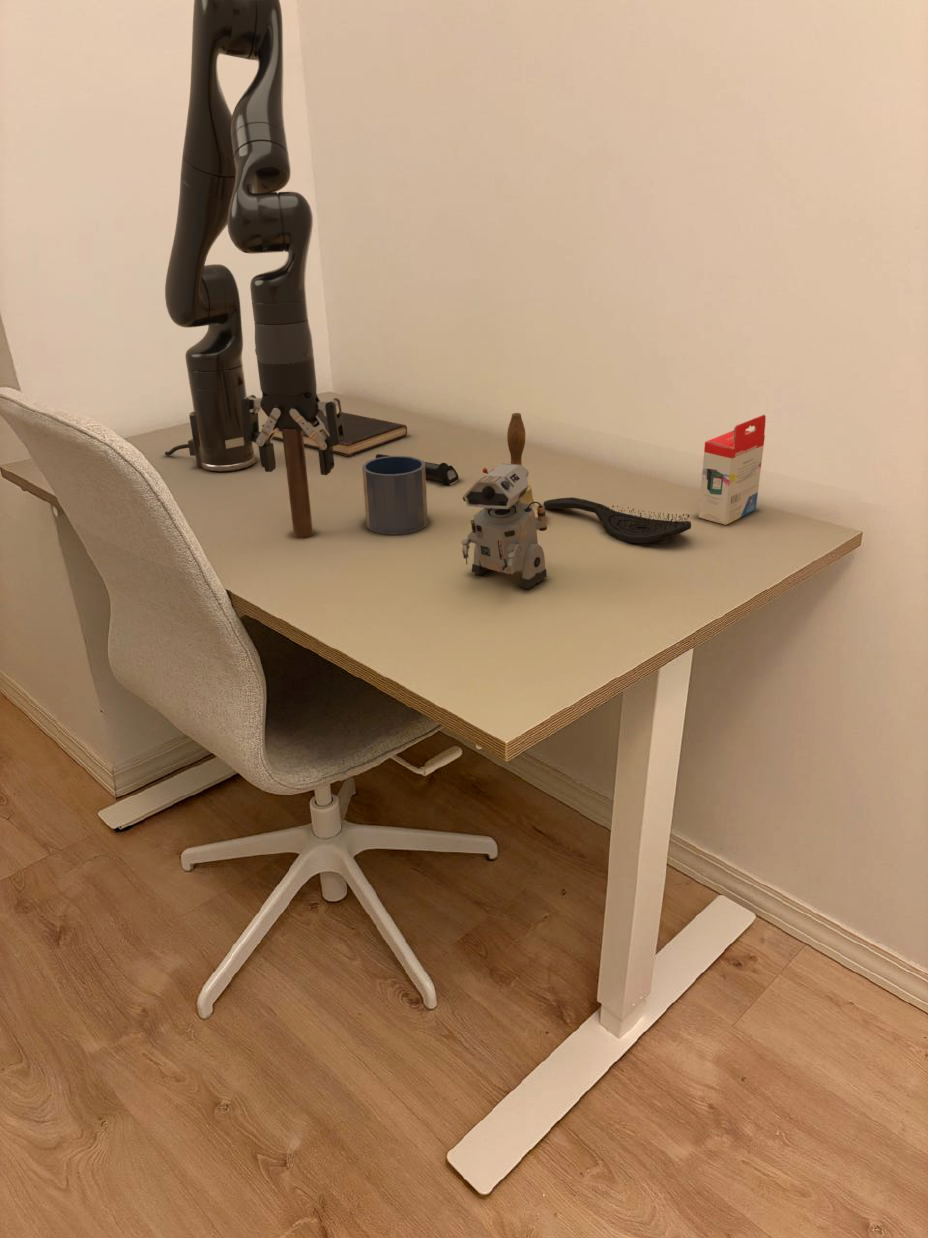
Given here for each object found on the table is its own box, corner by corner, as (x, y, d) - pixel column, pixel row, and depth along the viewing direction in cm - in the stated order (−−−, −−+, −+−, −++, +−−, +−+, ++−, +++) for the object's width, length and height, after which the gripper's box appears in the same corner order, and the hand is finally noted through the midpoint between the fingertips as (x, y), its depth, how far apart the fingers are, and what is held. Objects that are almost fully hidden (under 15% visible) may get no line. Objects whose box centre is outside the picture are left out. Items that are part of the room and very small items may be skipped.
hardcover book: (348, 456, 174) (347, 444, 173) (263, 436, 187) (261, 424, 186) (407, 435, 185) (407, 423, 184) (323, 418, 198) (322, 406, 197)
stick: (290, 537, 140) (278, 428, 133) (298, 530, 143) (286, 423, 135) (308, 538, 139) (296, 429, 132) (316, 531, 142) (305, 424, 135)
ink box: (728, 503, 148) (738, 408, 142) (757, 510, 145) (768, 413, 138) (696, 518, 143) (705, 420, 136) (726, 526, 140) (736, 426, 133)
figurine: (444, 590, 123) (440, 477, 116) (497, 560, 131) (496, 452, 124) (503, 608, 118) (502, 490, 111) (554, 575, 126) (556, 464, 119)
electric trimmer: (385, 467, 169) (383, 449, 167) (460, 480, 161) (459, 461, 160) (372, 473, 166) (370, 455, 164) (448, 486, 158) (447, 468, 157)
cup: (357, 532, 141) (352, 473, 137) (379, 510, 149) (375, 454, 145) (416, 537, 139) (413, 477, 135) (435, 515, 147) (432, 457, 143)
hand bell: (479, 516, 146) (477, 411, 139) (529, 507, 149) (529, 404, 142) (503, 534, 139) (502, 425, 132) (554, 524, 142) (556, 417, 135)
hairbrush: (562, 481, 150) (704, 510, 134) (562, 504, 152) (702, 535, 136) (527, 495, 145) (670, 527, 129) (528, 519, 147) (670, 553, 131)
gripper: (345, 350, 131) (354, 466, 138) (249, 348, 134) (263, 461, 142) (323, 362, 124) (334, 483, 132) (223, 359, 128) (239, 477, 135)
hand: (298, 471), depth 137 cm, fingers open, 8 cm apart
